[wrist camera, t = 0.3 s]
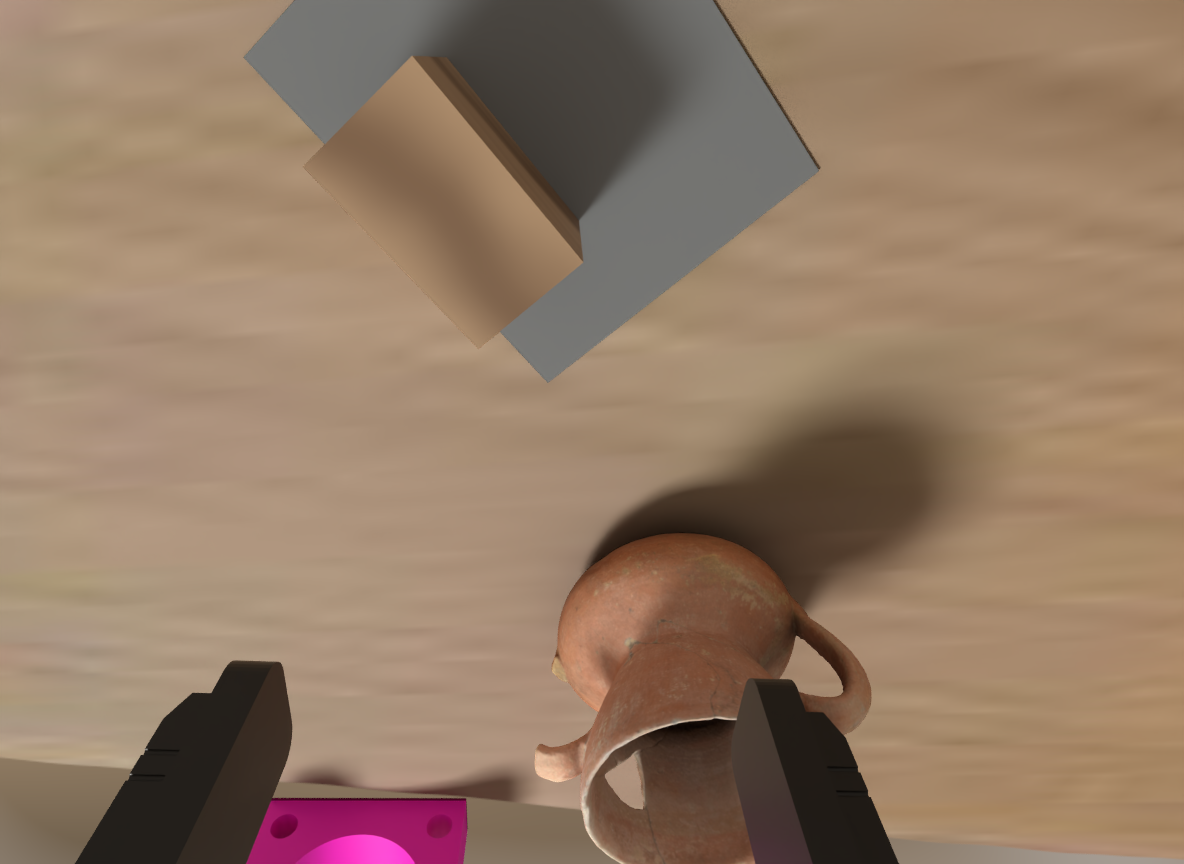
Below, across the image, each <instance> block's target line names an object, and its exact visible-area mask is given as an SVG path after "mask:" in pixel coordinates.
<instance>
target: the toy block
mask: <svg viewBox="0 0 1184 864" xmlns="http://www.w3.org/2000/svg"><path fill="white" fill-rule="evenodd" d="M466 803H467V802H466V798H272V800H271V802H270V805H269V807H268V810H267V812H266V815H265V817H264V820H263V822H262V825H261V827H260V830H259V833H258V835H257V838H256V840H255V843H254V845H253V848H252V850H251V853H250V855H249V858H248V860H247V863H246V864H463V861H464V853H465V845H466V837H467V829H468V828H467V827H468V826H467V804H466Z"/></svg>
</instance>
